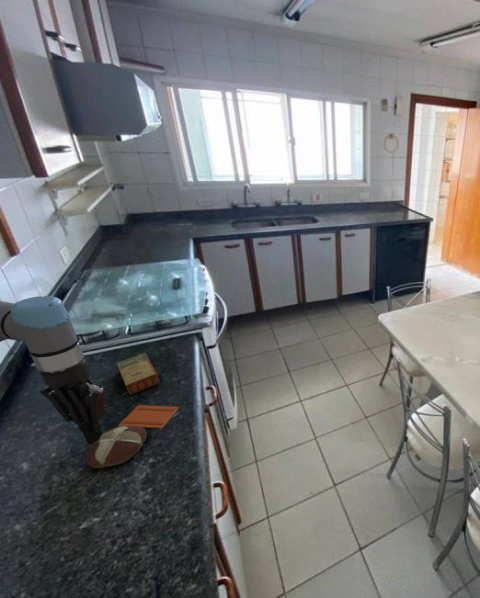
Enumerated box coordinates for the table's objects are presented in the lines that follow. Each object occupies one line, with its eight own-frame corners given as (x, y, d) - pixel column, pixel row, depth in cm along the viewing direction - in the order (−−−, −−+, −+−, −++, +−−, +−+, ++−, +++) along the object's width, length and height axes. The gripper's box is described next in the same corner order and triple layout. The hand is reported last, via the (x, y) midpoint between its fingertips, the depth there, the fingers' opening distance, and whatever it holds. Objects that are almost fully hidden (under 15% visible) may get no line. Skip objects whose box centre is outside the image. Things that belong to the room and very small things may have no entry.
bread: (79, 469, 78) (70, 455, 76) (117, 431, 88) (110, 418, 86) (125, 471, 78) (118, 457, 76) (158, 433, 88) (152, 419, 86)
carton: (129, 396, 100) (124, 385, 99) (119, 372, 110) (114, 362, 108) (161, 383, 106) (157, 372, 104) (148, 361, 116) (145, 351, 114)
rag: (118, 427, 90) (117, 425, 90) (138, 406, 97) (138, 404, 97) (162, 428, 91) (162, 427, 90) (180, 407, 98) (179, 406, 98)
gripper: (106, 355, 77) (132, 429, 87) (48, 352, 76) (81, 427, 86) (78, 375, 70) (110, 453, 80) (14, 372, 70) (54, 451, 79)
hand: (95, 439), depth 83 cm, fingers closed
